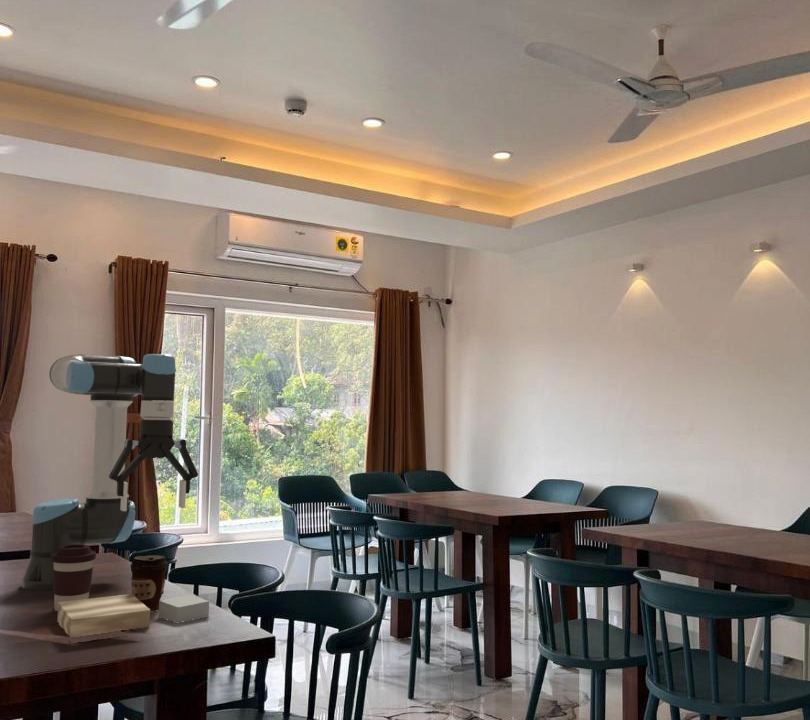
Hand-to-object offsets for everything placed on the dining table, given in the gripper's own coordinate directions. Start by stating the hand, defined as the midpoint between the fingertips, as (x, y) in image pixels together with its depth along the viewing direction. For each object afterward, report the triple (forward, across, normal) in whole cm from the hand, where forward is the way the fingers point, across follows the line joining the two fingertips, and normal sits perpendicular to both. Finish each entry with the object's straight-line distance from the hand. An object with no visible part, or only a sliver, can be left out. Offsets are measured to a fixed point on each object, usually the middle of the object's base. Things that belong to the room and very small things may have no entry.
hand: (153, 509), depth 181 cm
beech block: (+25, -11, -5) cm, 28 cm away
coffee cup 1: (+25, -14, +15) cm, 32 cm away
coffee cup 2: (+25, +1, +4) cm, 25 cm away
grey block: (+25, +6, -8) cm, 27 cm away
